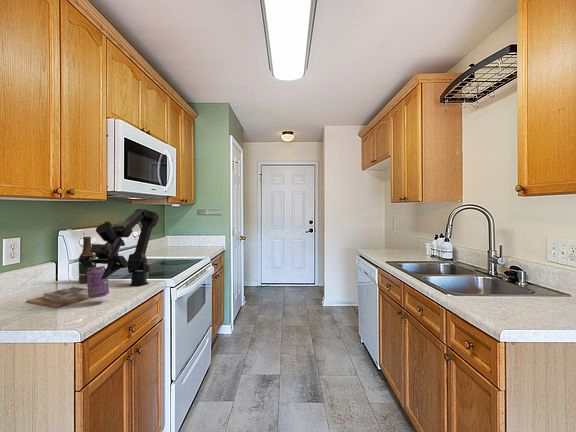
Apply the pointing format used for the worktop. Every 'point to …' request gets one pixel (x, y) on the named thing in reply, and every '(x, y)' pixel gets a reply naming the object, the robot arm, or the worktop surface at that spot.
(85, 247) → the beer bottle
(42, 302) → the can holder
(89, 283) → the beverage can
